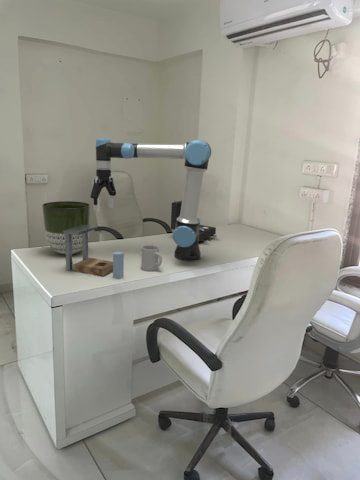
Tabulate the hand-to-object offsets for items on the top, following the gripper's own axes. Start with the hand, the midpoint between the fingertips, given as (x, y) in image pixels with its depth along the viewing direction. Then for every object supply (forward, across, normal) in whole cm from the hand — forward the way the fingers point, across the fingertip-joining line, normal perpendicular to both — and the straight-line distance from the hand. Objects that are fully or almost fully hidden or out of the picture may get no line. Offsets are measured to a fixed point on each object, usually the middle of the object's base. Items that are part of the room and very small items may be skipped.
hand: (104, 209), depth 197 cm
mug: (+26, +8, +34) cm, 43 cm away
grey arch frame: (+26, +25, +4) cm, 36 cm away
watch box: (+26, -68, +29) cm, 79 cm away
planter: (+26, +7, -19) cm, 33 cm away
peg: (+26, +27, +26) cm, 45 cm away
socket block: (+26, +24, +12) cm, 37 cm away
